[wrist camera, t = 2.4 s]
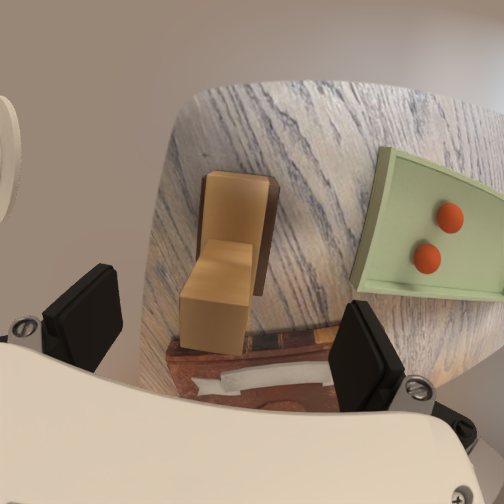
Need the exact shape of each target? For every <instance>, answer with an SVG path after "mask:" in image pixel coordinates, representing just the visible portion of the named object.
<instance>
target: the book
mask: <svg viewBox="0 0 504 504" xmlns="http://www.w3.org/2000/svg"><path fill="white" fill-rule="evenodd" d="M378 321H379V320H378ZM379 322H380V321H379ZM380 324H381V323H380ZM339 326H340V325H339ZM339 326H333V327H327V328H320V329H313V330H306V331H298V332H291V333H282V334H273V335H264V336H253V337H244V343H243V350H242V355H241V356H236V355H228V354H221V353H214V352H207V351H201V350H195V349H189V348H183V347H181V346H180V341H171V343H170V345H169V347H168V349H167V351H166V361H167V362H168V363H167V366H168V368H169V371H170V373H171V376H172V378H173V381H174V383H175V385H176V388H177V390H178V392H179V395H180V397H181V398H185V399H190V400H195V401H200V402H206V403H212V404H218V405H225V406H232V407H240V408H249V409H259V410H270V411H285V412H312V413H340V409H339V404H338V400H337V396H336V391H335V387H334V383H333V379H332V375H331V371H330V367H329V363H328V356H329V352H330V350H331V347H332V345H333V342H334V339H335V337H336V334H337V331H338V329H339ZM381 326H382V324H381ZM382 327H383V326H382ZM383 329H384V327H383ZM384 331H385V329H384Z"/></svg>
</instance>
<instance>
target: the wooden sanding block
mask: <svg viewBox="0 0 504 504" xmlns="http://www.w3.org/2000/svg"><path fill="white" fill-rule="evenodd" d="M269 184H270V183H269V179H268V177H265V176H258V175H251V174H243V173H234V172H226V171H213V172H211V173H209V174H207V179H206V189H205V200H204V211H203V223H202V236H201V250H200V256H199V258H198V260H197V262H196V264H195V266H194V268H193V270H192V272H191V274H190V276H189V278H188V280H187V282H186V284H185V286H184V288H183V290H182V292H181V294H180V296H179V325H180V346H181V347H183V348H189V349H195V350H201V351H207V352H214V353H221V354H228V355H236V356H241V355H242V350H243V343H244V337H245V331H246V330H247V328H248V322H249V316H250V309H251V303H252V296H253V290H254V284H255V277H256V271H257V264H258V258H259V251H260V245H261V238H262V231H263V225H264V218H265V211H266V205H267V198H268V191H269Z"/></svg>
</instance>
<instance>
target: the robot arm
mask: <svg viewBox="0 0 504 504" xmlns="http://www.w3.org/2000/svg"><path fill="white" fill-rule="evenodd" d="M1 169H2V149H1V140H0V179H1ZM42 315H43V320H42V321H40V320H39V319H38V318H37V317H35V316H23V317H20V318H18V319H16V320H15V321H14V322H13V323H12V324H11V325H10V328H9V332H8V335H6V336H1V337H0V504H493V503H494V501H495V500H496V498H497V496H498V494H499V492H500V491H501V489H502V487H503V485H504V457H503V456H501V455H500V454H499V453H498V452H497V451H496V450H495V449H494V448H493V447H491V446H490V445H489V444H488V443H487V442H486V441H485V440H484V439H482V438H481V437H480V438H478V439H477V438H476V437H477V431H476V427H475V425H474V423H473V422H472V421H471V420H470V419H468V418H467V417H465V416H463V415H461V414H459V413H457V412H455V411H453V410H451V409H450V408H448V407H446V406H444V405H442V404H440V403H438V402H437V401H435V399H436V390H435V387H434V386H433V384H432V383H431V382H430V381H429V380H428V379H426V378H424V377H422V376H419V375H408V376H407V377H406V375H405V373H404V370H405V368H404V366H403V364H402V362H401V360H400V358H399V357H398V355H397V353H396V351H395V349H394V347H393V345H392V344H391V342H390V340H389V338H388V336H387V335H386V333H385V331H384V329H383V327H382V326H381V324H380V322H379V321H378V319H377V317H376V315H375V314H374V312H373V310H372V309H371V307H370V305H369V303H368V302H367V301H359V300H353V301H352V302H351V303H348V304H347V306H346V309H345V312H344V315H343V318H342V320H341V323H340V326H339V329H338V331H337V334H336V337H335V339H334V342H333V345H332V347H331V350H330V352H329V356H328V363H329V367H330V371H331V375H332V379H333V383H334V387H335V391H336V396H337V400H338V404H339V409H340V413H312V412H285V411H270V410H259V409H249V408H240V407H232V406H225V405H218V404H212V403H206V402H200V401H195V400H190V399H185V398H180V397H175V396H171V395H166V394H162V393H158V392H154V391H150V390H146V389H142V388H139V387H135V386H132V385H128V384H125V383H122V382H118V381H115V380H112V379H109V378H106V377H103V376H100V375H97V374H94V372H95V370H96V368H97V367H98V365H99V364H100V362H101V361H102V359H103V358H104V356H105V355H106V353H107V352H108V350H109V348H110V347H111V345H112V344H113V343H114V341H115V340H116V338H117V337H118V335H119V334H120V332H121V331H122V327H123V320H122V313H121V307H120V298H119V290H118V280H117V272H116V270H114V269H113V266H111V265H106V264H101V263H99V264H98V265H97V266H95V267H94V268H93V269H92V270H90V271H89V272H88V273H87V274H85V275H84V276H83V277H82V278H81V279H80V280H78V281H77V282H76V283H75V284H74V285H73V286H71V287H70V288H69V289H68V290H67V291H66V292H65V293H64V294H62V295H61V296H60V297H59V298H58V299H57V300H56V301H55V302H54V303H52V304H51V305H50V306H49V307H48V308H47V309H46V310H45V311H44V312H43V313H42Z"/></svg>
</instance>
